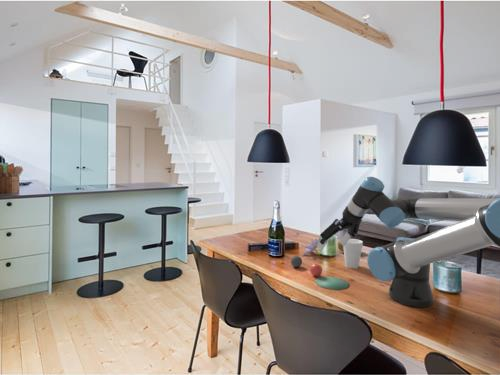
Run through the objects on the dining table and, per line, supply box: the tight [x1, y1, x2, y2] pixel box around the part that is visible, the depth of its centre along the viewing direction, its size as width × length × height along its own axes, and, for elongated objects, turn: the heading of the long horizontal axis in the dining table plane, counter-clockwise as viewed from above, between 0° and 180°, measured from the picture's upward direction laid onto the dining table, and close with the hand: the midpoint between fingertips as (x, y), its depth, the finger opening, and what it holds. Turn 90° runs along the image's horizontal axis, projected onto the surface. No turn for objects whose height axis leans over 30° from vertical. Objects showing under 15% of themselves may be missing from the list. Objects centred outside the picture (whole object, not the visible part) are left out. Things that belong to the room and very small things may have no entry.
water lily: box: [303, 236, 322, 257], centre depth 174 cm, size 15×15×9 cm
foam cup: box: [343, 238, 364, 269], centre depth 154 cm, size 10×9×13 cm
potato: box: [337, 240, 344, 253], centre depth 179 cm, size 10×14×8 cm
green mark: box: [315, 276, 350, 291], centre depth 133 cm, size 14×14×1 cm
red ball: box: [309, 263, 323, 277], centre depth 141 cm, size 6×6×6 cm
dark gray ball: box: [290, 255, 303, 268], centre depth 153 cm, size 6×6×6 cm
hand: (330, 246), depth 135 cm, fingers open, 13 cm apart
